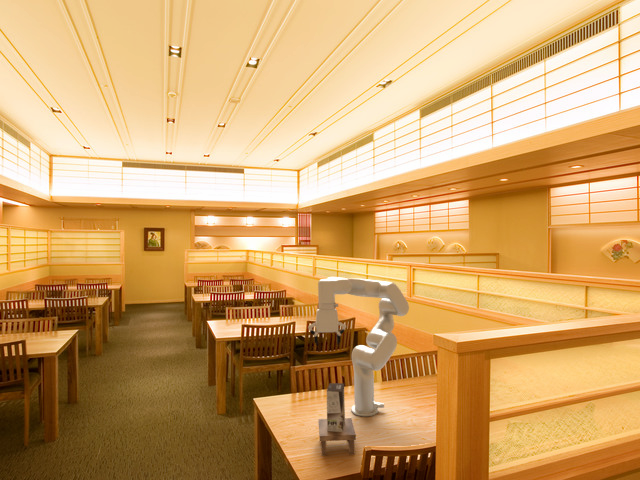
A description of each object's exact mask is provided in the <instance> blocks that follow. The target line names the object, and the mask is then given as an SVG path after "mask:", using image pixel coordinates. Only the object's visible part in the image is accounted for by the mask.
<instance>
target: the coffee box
mask: <svg viewBox="0 0 640 480" xmlns="http://www.w3.org/2000/svg"><path fill="white" fill-rule="evenodd" d="M345 407H346V406H345V383H341V382H340V383H336V382H335V383H333V382H332V383H329V384H328V386H327V389H326V419H327V431H332V432H343V427H344V423H345V418H346V416H345V415H346V413H345V410H346V409H345Z"/></svg>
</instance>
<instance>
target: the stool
mask: <svg viewBox="0 0 640 480" xmlns="http://www.w3.org/2000/svg"><path fill="white" fill-rule="evenodd" d="M318 432H319V433H318V435H319V436H318V437H319V442H320V448H321V449H320V451H321V453H320V454H321V456H322V457H323V456H324V457H325V456H327V442H333V441H335V442H337V441H338V442H339V441H349V442H348V450H349V451H348V452H349V456H352V455H353V456H354V455H355V441H356V439H357V434H356V430H355V426H354V422H353V419H352V417H351V418H350V417H349V418H347V417H345V423H344V427H343V432H332V431H327V418H321V419H320V418H319V419H318Z"/></svg>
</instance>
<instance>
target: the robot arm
mask: <svg viewBox="0 0 640 480" xmlns="http://www.w3.org/2000/svg"><path fill="white" fill-rule="evenodd" d="M317 291H318V293H317V294H318V297H317V299H318V308H317V309H316V313H315V322H313V323H312V324H310V325H308V326H307V329H308V330H309V331H310V332H309V333H310V334H312V336H313V338H314V339H313V340H314V344H315V345H316V346H318V345H319V344H318V343H319V342H318V341H319V340H318V339H319V337H318V335H319V334H320V333H336V344H337V346H340V343H341V336H342V334H344V333H345V330H346V328H347V325H346V324H345V323H342V322H341V321H339V318H338V316H339V314H338V310H337V308H338V307H339V303H336V295H350V296H354V297H355V296H356V297H360V298H361V297H363V298H375V299H376V298H378V299H380V300H379V301H378V310H379V317H378V320H377V321H376V323H375V324H374V326H373V327H372V328H371V330H370V331H369V332H368V333H367V336H366V339H365V343H366V344H367V345H363V344H359V345H356V346H355V347H354V348H353V349H352V352H351V362H352V366H353V367H352V368H353V382H354V383H353V384H354V385H353V387H354V390H353V391H354V396H353V397H354V404H353V405H352V406H351V413H352V414H353V415H355V416H359V417H373V416H375V415H377V413H378V409H382V408H383V409H384V408H385V403H382V402H381V401H375V387H374V385H375V382H374V381H375V375H374V374H375V373H374V372H375V371H376V372H377V371H380V370H382V368H384V367H385V365H386V364H387V362H388V361H389V360H390V358H391V356H392V355H393V354H394V352H395V351H396V349H397V344H398V338H397V336H396V335H395V334H394V333H393V332H392V331H393V330H394V327H395V322H394V316H397V317H403V316H406V315H407V314H408V313H409V311H410V310H409V309H410V305H409V302H408V300H407V298H406V297H405V295H404V294H403V292H402V291H401V289H400V288H399V286H397V284H396V283H394V282H392V281H383V280H374V279H366V278H349V277H346V278H345V277H339V276H329V277H327V278H322V279H319V280H318V282H317ZM339 326H340V327H342V328H341V329H340V330H339ZM314 327H315V329H316V330H315V331H314V329H313V328H314Z"/></svg>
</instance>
